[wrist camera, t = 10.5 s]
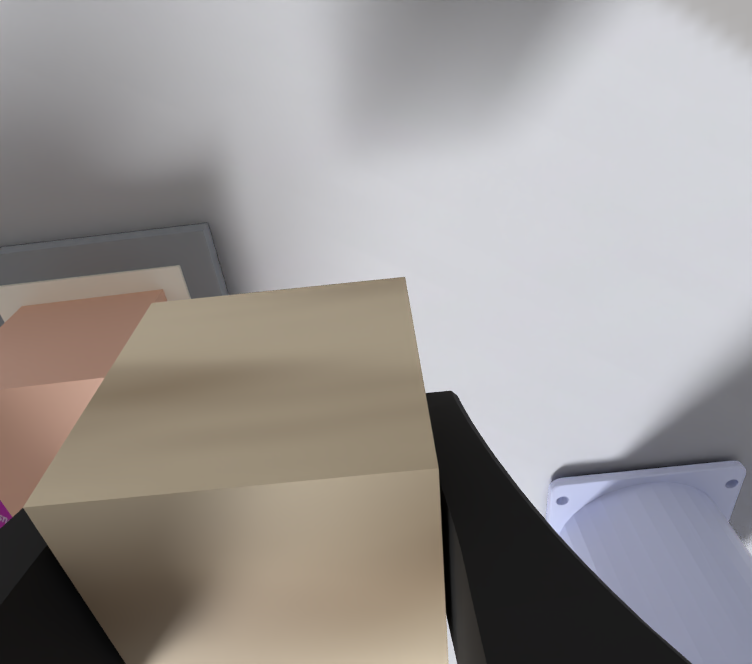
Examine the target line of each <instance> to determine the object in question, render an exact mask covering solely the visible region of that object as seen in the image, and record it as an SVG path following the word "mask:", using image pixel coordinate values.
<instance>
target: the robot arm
mask: <svg viewBox="0 0 752 664" xmlns="http://www.w3.org/2000/svg"><path fill="white" fill-rule="evenodd" d="M426 399H427V405H428V411H429V416H430V422H431V428H432V433H433V439H434V445H435V450H436V456H437V462H438V467H439V485H440V505H441V525H442V545H443V565H444V585H445V605H446V615H447V620H448V624H449V629H450V633H451V637H452V642H453V646H454V651H455V655H456V660H457V664H752V555H751V554H750V552H749V551H748V550H747V548H746V547H745V545H744V544H743V542H742V541H741V540H740V538H739V537H738V535H737V534H736V532H735V531H734V529H733V528H732V527H731V525H730V524H729V520H730V517H731V514H732V511H733V509H734V506H735V503H736V500H737V498H738V495H739V492H740V489H741V486H742V484H743V481H744V478H745V475H746V469H745V467H744V466H743V465H742V464H741V462H739V461H722V462H713V463H703V464H693V465H683V466H673V467H663V468H653V469H643V470H634V471H624V472H614V473H604V474H594V475H584V476H574V477H565V478H558V479H556V480H554V481H553V482H552V483H551V484H550V485H549V490H548V501H547V513H546V520H545V518H544V517H543V516H542V515H541V514H540V513H539V511H538V510H537V509H536V508H535V507H534V506H533V504H532V503H531V502H530V501H529V499H528V498H527V497H526V496H525V494H524V493H523V492H522V491H521V490H520V488H519V487H518V486H517V484H516V483H515V482H514V480H513V479H512V478H511V476H510V475H509V474H508V473H507V471H506V470H505V469H504V467H503V466H502V465H501V463H500V462H499V461H498V459H497V458H496V457H495V455H494V454H493V452H492V451H491V450H490V448H489V447H488V445H487V444H486V442H485V441H484V439H483V438H482V436H481V435H480V433H479V432H478V430H477V429H476V427H475V426H474V424H473V423H472V421H471V419H470V418H469V416H468V414H467V413H466V411H465V409H464V407H463V405H462V404H461V402H460V400H459V398H458V396H457V395H456V394H455V393H453V392H452V391H443V392H433V393H426ZM0 664H126V663H125V662H124V660H123V659H122V657H121V656H120V654H119V653H118V651H117V650H116V648H115V646H114V645H113V643H112V642H111V640H110V639H109V637H108V636H107V634H106V633H105V631H104V630H103V628H102V627H101V625H100V624H99V622H98V621H97V619H96V618H95V616H94V615H93V613H92V612H91V610H90V609H89V607H88V606H87V604H86V602H85V601H84V599H83V598H82V596H81V595H80V593H79V592H78V590H77V589H76V587H75V586H74V584H73V583H72V581H71V580H70V578H69V577H68V575H67V574H66V572H65V571H64V569H63V568H62V566H61V565H60V563H59V562H58V560H57V558H56V557H55V555H54V554H53V552H52V551H51V549H50V548H49V546H48V545H47V543H46V542H45V540H44V539H43V537H42V536H41V534H40V533H39V531H38V530H37V528H36V527H35V525H34V524H33V522H32V521H31V519H30V517H29V516H28V514H27V513H26V511H25V510H24V508H22V509H21V510H20V511H19V512H18V513H17V514H15V515H14V516H13V517H12V518H11V519H10V520H9V521H8V522H7V523H6V524H5V525H4V526H2V527H1V528H0Z"/></svg>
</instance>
